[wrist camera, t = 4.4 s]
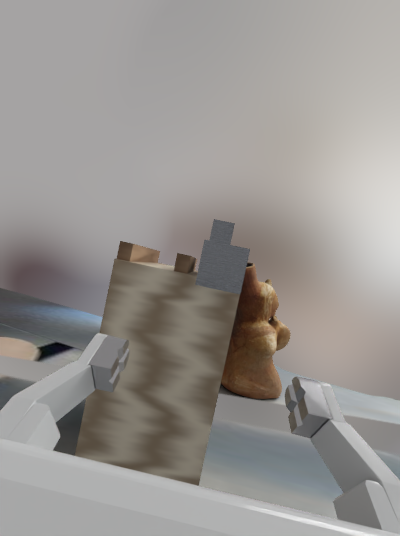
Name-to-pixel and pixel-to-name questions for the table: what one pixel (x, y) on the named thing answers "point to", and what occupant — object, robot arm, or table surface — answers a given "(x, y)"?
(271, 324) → the ceramic vessel
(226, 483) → the table surface
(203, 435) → the stand
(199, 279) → the bracket
